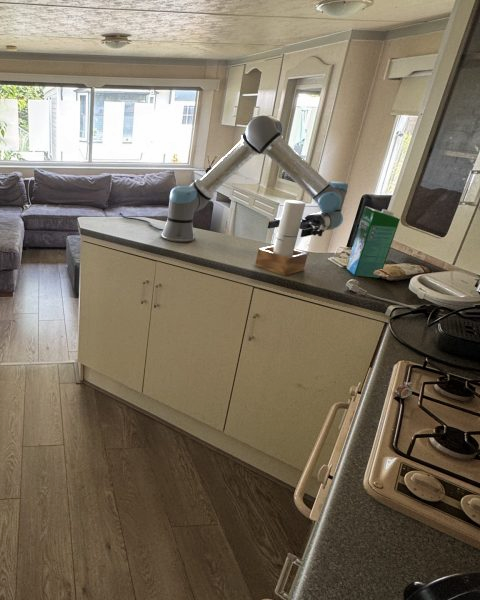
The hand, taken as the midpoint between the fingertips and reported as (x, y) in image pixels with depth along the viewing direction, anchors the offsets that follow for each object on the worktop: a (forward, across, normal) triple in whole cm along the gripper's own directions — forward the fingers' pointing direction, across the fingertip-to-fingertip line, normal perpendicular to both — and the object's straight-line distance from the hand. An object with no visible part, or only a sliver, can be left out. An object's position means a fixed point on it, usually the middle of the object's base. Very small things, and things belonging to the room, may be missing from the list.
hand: (284, 229), depth 162 cm
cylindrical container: (-2, 0, -15) cm, 15 cm away
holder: (-2, 0, -16) cm, 16 cm away
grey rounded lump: (+52, -64, -16) cm, 84 cm away
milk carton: (-27, -20, -16) cm, 38 cm away
